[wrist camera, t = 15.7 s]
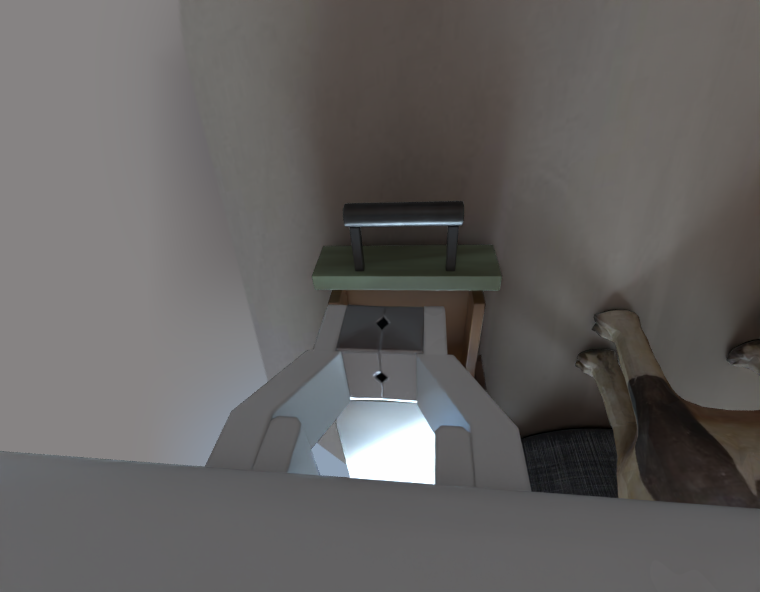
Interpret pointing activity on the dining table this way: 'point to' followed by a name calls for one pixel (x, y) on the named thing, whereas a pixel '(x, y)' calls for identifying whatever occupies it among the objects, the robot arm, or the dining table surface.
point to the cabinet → (389, 438)
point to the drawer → (414, 270)
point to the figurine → (672, 425)
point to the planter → (572, 462)
